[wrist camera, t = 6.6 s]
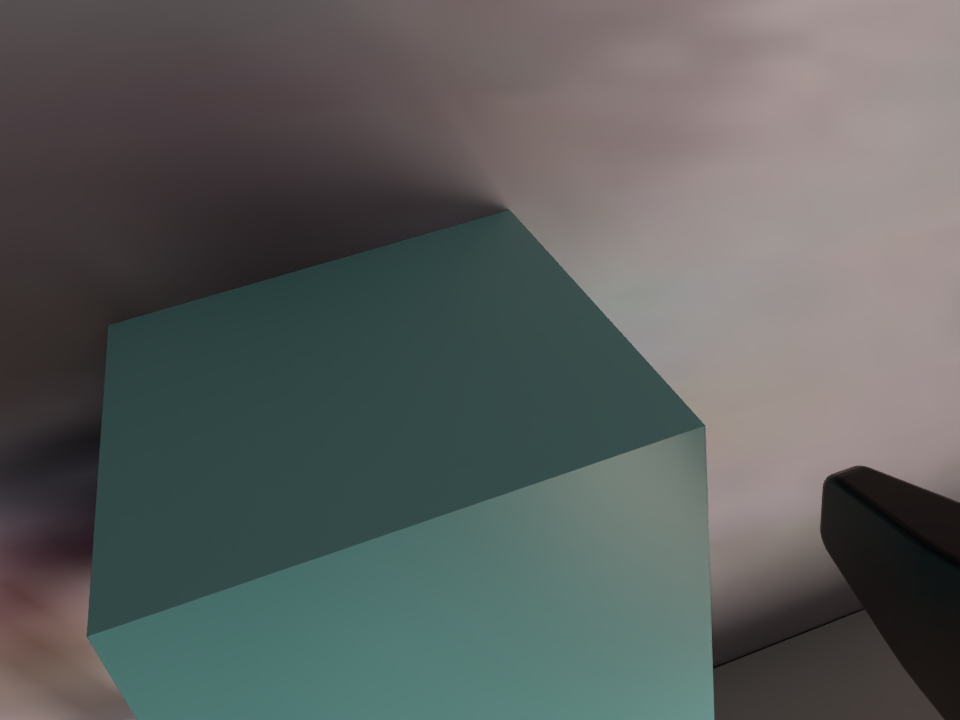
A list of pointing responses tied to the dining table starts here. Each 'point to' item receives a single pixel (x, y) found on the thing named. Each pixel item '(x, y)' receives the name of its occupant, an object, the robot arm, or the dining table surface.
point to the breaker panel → (821, 679)
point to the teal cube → (400, 499)
